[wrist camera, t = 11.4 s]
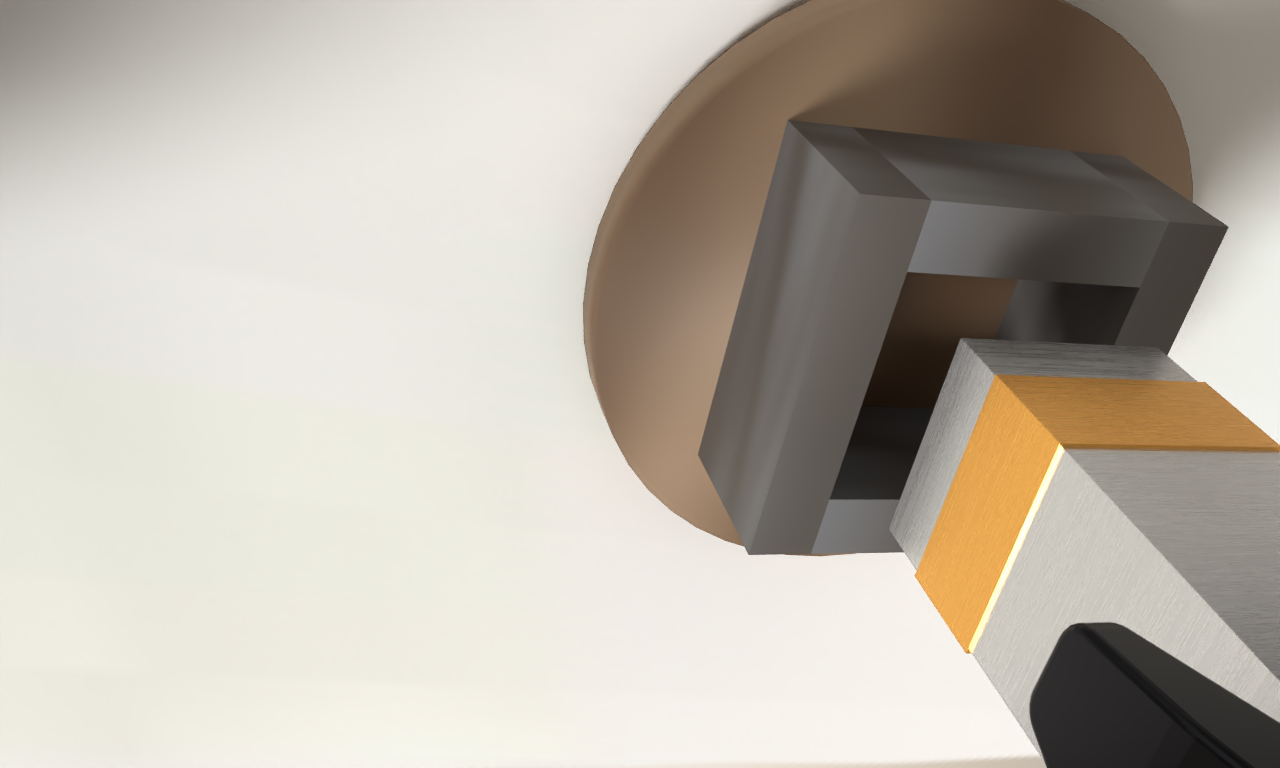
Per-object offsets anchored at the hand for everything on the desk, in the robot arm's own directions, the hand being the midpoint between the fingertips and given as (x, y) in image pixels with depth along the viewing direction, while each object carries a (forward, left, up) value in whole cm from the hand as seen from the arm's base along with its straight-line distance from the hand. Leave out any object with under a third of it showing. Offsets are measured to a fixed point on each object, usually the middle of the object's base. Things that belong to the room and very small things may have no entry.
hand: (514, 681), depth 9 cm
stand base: (+8, -7, -13) cm, 17 cm away
